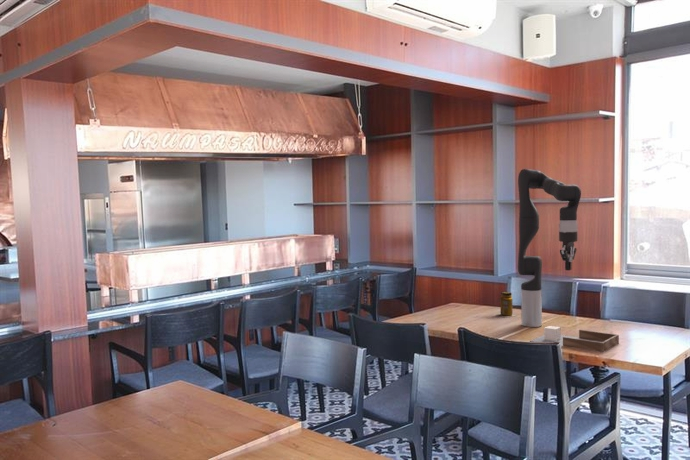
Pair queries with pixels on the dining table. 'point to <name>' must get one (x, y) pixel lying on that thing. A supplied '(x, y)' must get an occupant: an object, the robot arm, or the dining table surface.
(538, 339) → the slate board
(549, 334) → the cream cube
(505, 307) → the condiment
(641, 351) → the dining table surface
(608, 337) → the tray
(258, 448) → the dining table surface
